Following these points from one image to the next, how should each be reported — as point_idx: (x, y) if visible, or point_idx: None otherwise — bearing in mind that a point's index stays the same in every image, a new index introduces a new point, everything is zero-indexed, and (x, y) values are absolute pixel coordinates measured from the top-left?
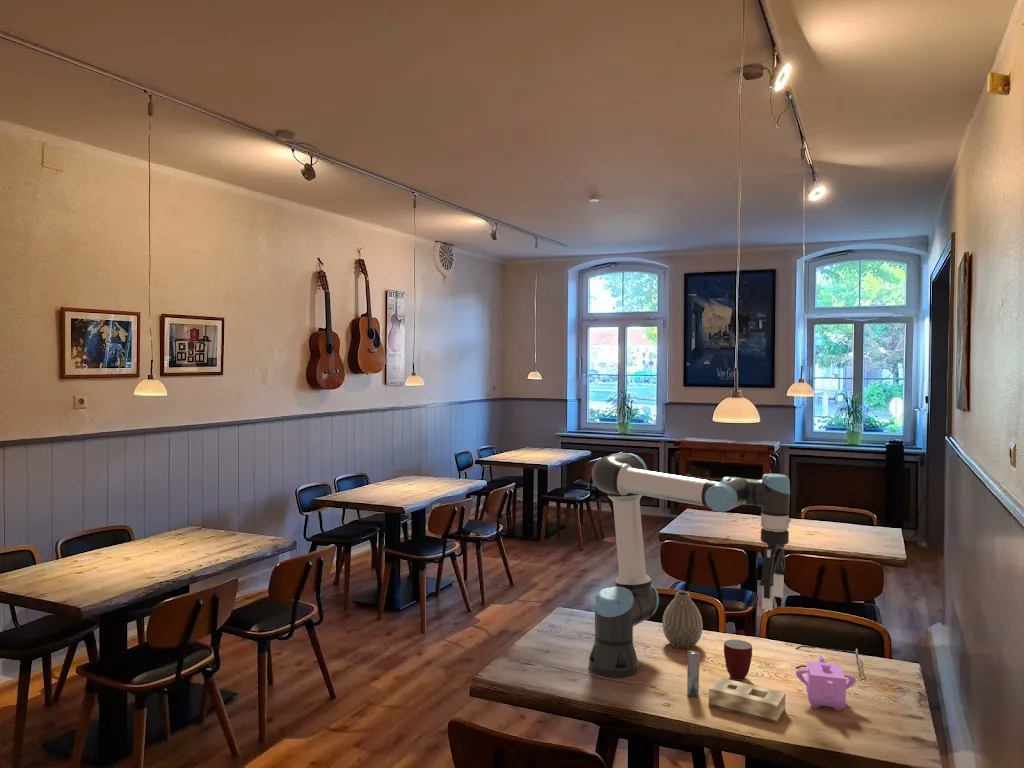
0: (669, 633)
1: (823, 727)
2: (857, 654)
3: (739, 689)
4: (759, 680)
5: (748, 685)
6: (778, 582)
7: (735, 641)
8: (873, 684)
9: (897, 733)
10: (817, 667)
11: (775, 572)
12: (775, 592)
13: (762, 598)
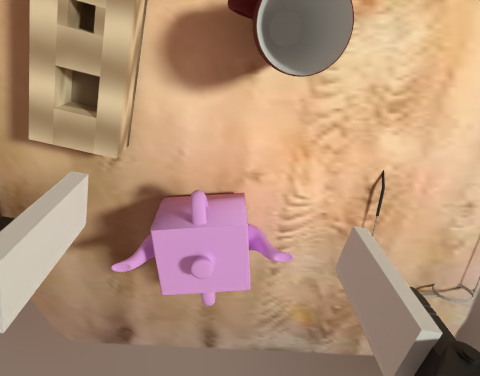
0: None
1: (90, 211)
2: (442, 297)
3: (75, 39)
4: (283, 88)
5: (116, 65)
6: (377, 311)
7: (350, 13)
8: (328, 300)
9: (131, 312)
10: (210, 245)
11: (443, 351)
12: (357, 250)
13: (38, 200)
